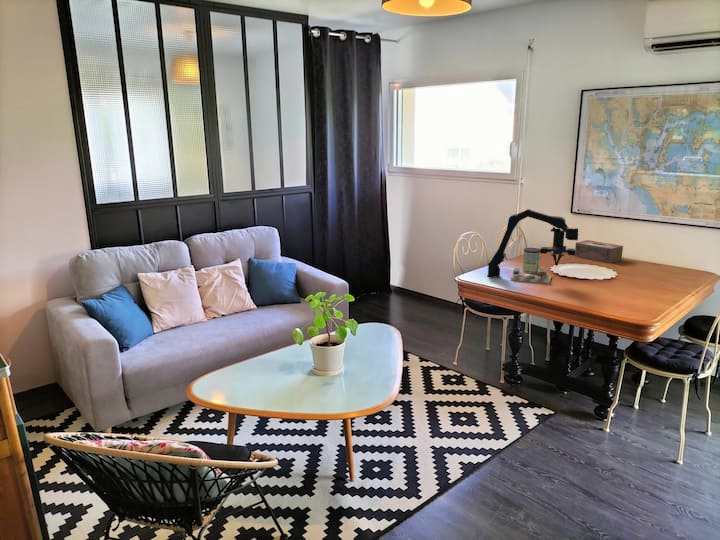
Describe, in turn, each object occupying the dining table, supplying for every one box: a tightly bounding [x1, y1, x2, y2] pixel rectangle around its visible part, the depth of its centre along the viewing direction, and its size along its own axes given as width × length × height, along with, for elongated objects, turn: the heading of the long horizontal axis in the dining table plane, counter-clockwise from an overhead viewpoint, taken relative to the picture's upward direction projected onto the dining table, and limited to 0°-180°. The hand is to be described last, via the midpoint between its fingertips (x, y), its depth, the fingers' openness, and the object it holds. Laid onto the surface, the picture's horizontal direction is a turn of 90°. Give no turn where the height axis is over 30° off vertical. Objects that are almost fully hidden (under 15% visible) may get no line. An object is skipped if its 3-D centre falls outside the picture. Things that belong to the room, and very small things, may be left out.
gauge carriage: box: [531, 268, 547, 279], centre depth 305 cm, size 8×10×4 cm
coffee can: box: [522, 247, 542, 274], centre depth 324 cm, size 10×10×14 cm
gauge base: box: [510, 267, 552, 284], centre depth 308 cm, size 22×12×5 cm, turn 69°
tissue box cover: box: [574, 239, 624, 264], centre depth 355 cm, size 26×14×10 cm, turn 35°
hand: (556, 265), depth 301 cm, fingers closed
